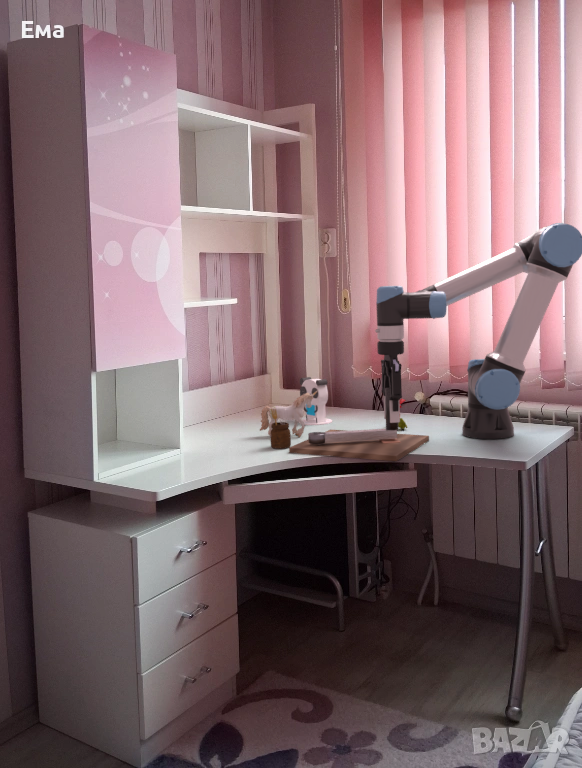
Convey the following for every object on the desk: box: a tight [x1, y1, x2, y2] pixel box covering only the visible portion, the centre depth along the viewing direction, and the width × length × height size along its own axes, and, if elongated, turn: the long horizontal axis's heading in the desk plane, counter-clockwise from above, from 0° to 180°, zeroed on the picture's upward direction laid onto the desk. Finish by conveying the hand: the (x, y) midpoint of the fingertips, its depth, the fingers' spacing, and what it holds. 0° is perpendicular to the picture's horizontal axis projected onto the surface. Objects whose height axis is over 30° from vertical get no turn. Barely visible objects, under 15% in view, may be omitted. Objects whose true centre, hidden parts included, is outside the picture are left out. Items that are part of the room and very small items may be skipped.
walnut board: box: [288, 429, 430, 462], centre depth 231 cm, size 32×28×2 cm
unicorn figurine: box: [259, 391, 318, 438], centre depth 249 cm, size 7×20×13 cm, turn 101°
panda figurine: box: [299, 376, 333, 426], centre depth 272 cm, size 12×11×15 cm
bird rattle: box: [398, 398, 408, 430], centre depth 256 cm, size 6×11×9 cm
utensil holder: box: [269, 408, 292, 450], centre depth 233 cm, size 6×6×12 cm
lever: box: [307, 387, 399, 444], centre depth 228 cm, size 26×5×14 cm, turn 97°
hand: (391, 420), depth 230 cm, fingers open, 6 cm apart
